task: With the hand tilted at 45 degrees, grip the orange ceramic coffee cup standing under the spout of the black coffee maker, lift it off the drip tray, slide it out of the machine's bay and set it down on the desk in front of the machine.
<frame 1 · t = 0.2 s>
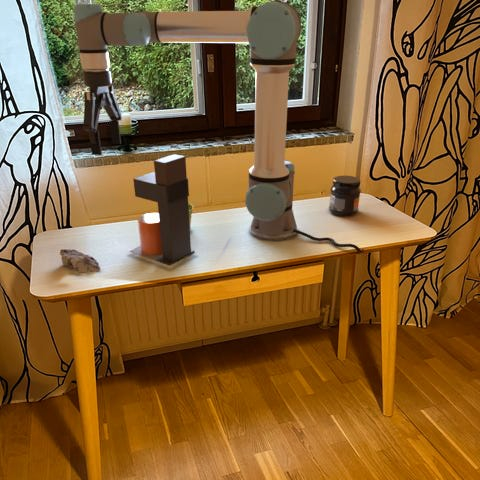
hand: (107, 148, 150), 28 cm above the table, tool pointing down, fingers open, 13 cm apart
plant pot: (180, 233, 167), on the table
mineral rock: (81, 268, 145), on the table
coffee maker: (155, 253, 153), on the table
supplement container: (343, 212, 183), on the table
cup: (155, 249, 152), point 1 cm above the table, touching coffee maker
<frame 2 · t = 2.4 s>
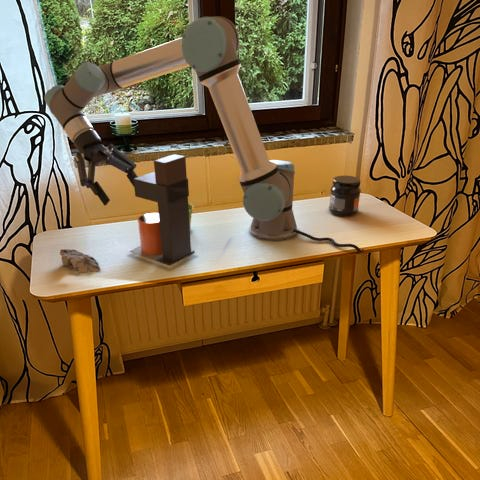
hand: (124, 196, 150), 16 cm above the table, tool tilted 45°, fingers open, 13 cm apart
nothing on the table moved.
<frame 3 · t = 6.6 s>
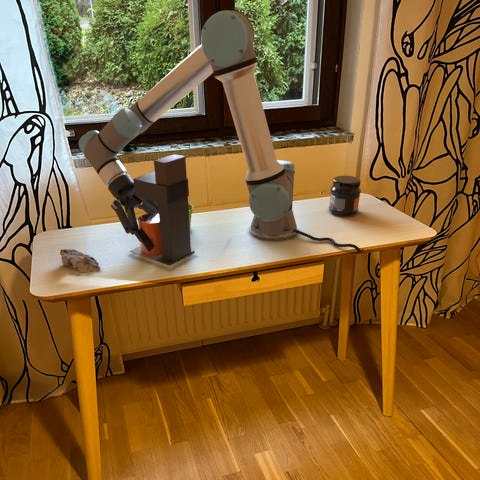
hand: (162, 243, 149), 4 cm above the table, tool tilted 45°, fingers closed on cup, 8 cm apart
cup: (155, 249, 152), point 2 cm above the table, touching coffee maker, gripper
everything else where it was.
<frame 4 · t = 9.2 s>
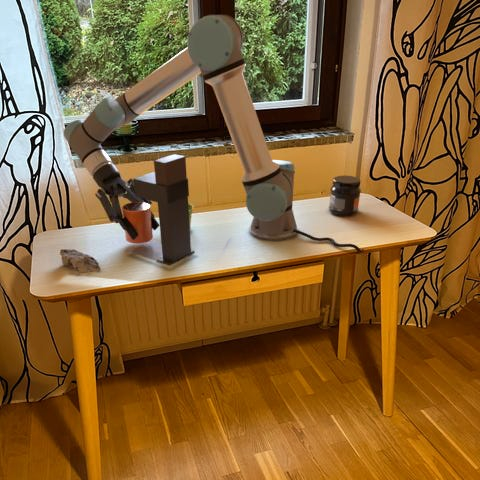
hand: (146, 232, 151), 6 cm above the table, tool tilted 45°, fingers closed on cup, 8 cm apart
cup: (139, 238, 154), point 4 cm above the table, touching gripper
everything else where it was.
when the fingers open (3 cm above the table, at t = 12.0 s): cup stays where it is, on the table.
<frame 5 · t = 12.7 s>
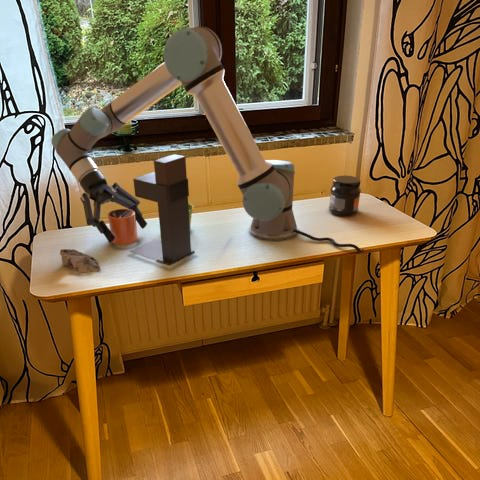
hand: (129, 233, 156), 4 cm above the table, tool tilted 45°, fingers open, 13 cm apart
cup: (125, 243, 160), on the table
everything else where it was.
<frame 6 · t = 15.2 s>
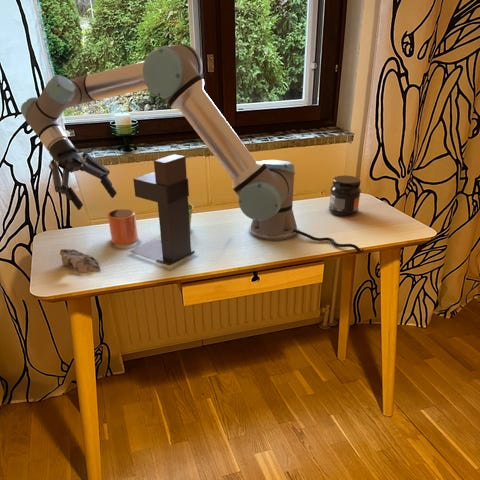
hand: (98, 201, 158), 12 cm above the table, tool tilted 45°, fingers open, 13 cm apart
nothing on the table moved.
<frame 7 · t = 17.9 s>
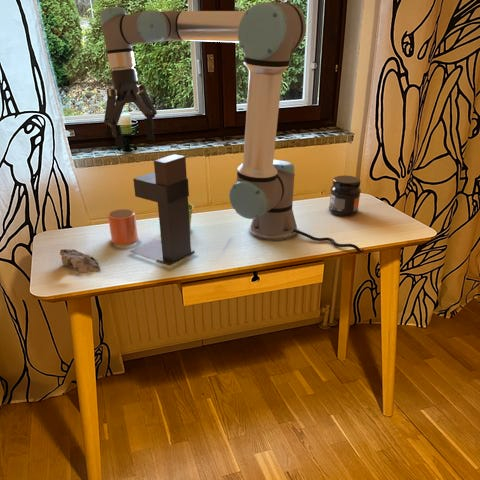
hand: (136, 143, 160), 27 cm above the table, tool pointing down, fingers open, 13 cm apart
nothing on the table moved.
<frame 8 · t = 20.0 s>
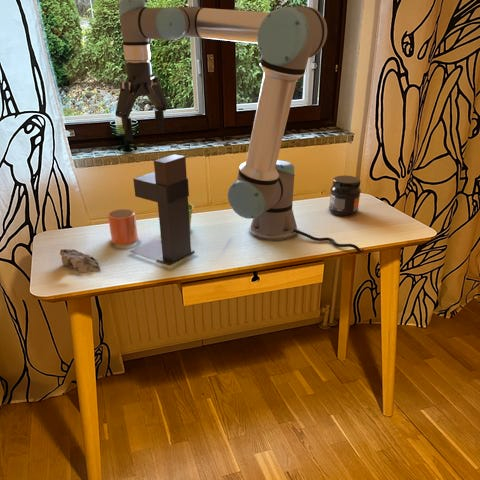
hand: (145, 136, 160), 29 cm above the table, tool pointing down, fingers open, 13 cm apart
nothing on the table moved.
at the end: cup inside the target area (0.3 cm from its centre), on the table; cup tilted 0°; the gripper is holding nothing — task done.
